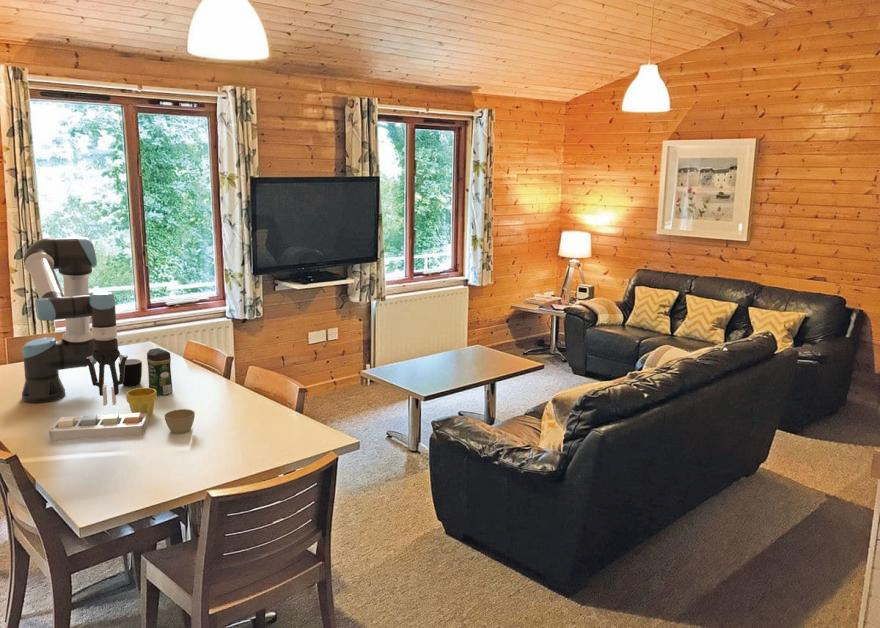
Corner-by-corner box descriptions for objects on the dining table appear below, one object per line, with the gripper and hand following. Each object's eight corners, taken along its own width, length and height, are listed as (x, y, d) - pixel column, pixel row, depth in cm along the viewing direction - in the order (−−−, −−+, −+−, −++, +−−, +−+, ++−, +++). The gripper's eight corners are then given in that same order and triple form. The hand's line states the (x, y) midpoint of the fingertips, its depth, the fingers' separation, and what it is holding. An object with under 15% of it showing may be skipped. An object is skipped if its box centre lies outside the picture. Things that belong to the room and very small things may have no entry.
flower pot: (165, 429, 251) (164, 410, 250) (195, 426, 255) (194, 407, 253) (165, 440, 242) (164, 420, 241) (196, 436, 246) (195, 417, 244)
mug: (146, 385, 301) (144, 362, 299) (124, 389, 295) (122, 365, 293) (136, 378, 310) (134, 356, 308) (114, 382, 304) (113, 359, 302)
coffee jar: (146, 392, 291) (143, 348, 288) (164, 388, 297) (162, 345, 293) (156, 398, 285) (153, 353, 281) (175, 394, 290) (173, 350, 287)
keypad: (50, 443, 237) (48, 431, 236) (60, 429, 249) (59, 418, 248) (143, 437, 244) (142, 425, 243) (148, 424, 256) (147, 413, 255)
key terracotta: (125, 424, 246) (124, 417, 245) (127, 420, 250) (126, 413, 249) (138, 423, 247) (138, 416, 246) (140, 419, 251) (140, 412, 250)
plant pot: (164, 415, 265) (162, 390, 263) (140, 423, 257) (138, 397, 255) (145, 410, 270) (144, 385, 269) (121, 418, 262) (120, 392, 260)
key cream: (58, 428, 240) (57, 421, 240) (61, 424, 245) (61, 417, 244) (72, 427, 242) (72, 420, 241) (75, 423, 246) (75, 416, 245)
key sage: (103, 425, 244) (102, 418, 243) (105, 421, 248) (105, 414, 248) (117, 424, 245) (116, 418, 245) (119, 420, 249) (118, 413, 249)
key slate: (81, 427, 242) (80, 420, 242) (83, 422, 246) (83, 415, 246) (95, 426, 243) (94, 419, 243) (97, 421, 248) (97, 415, 247)
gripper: (77, 341, 235) (83, 409, 240) (127, 339, 239) (132, 406, 244) (83, 336, 242) (88, 402, 247) (131, 334, 246) (135, 399, 251)
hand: (110, 404), depth 245 cm, fingers open, 2 cm apart
